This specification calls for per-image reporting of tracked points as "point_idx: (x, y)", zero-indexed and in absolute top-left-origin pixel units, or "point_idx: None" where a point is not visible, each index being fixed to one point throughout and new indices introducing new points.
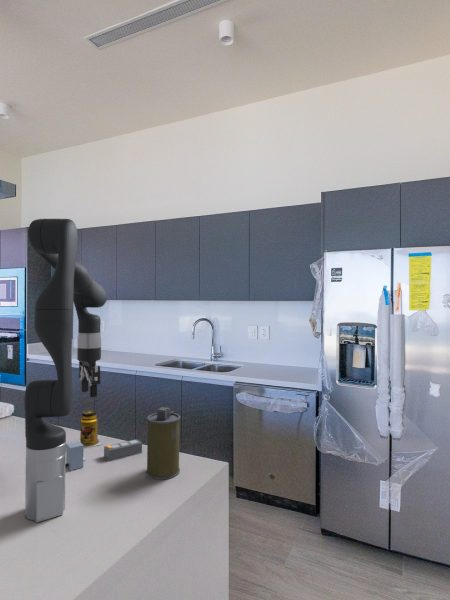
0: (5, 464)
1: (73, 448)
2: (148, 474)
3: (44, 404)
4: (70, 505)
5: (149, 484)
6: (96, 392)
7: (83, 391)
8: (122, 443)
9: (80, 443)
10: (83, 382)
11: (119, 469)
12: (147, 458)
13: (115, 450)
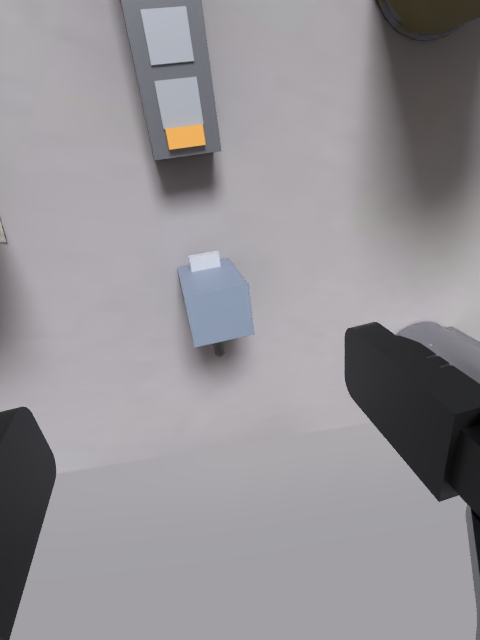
0: (92, 467)
1: (252, 321)
2: (432, 36)
3: None
4: (426, 309)
5: (476, 64)
6: (433, 354)
7: (50, 457)
8: (155, 44)
9: (219, 293)
10: (2, 600)
11: (310, 131)
12: (463, 11)
13: (215, 113)
